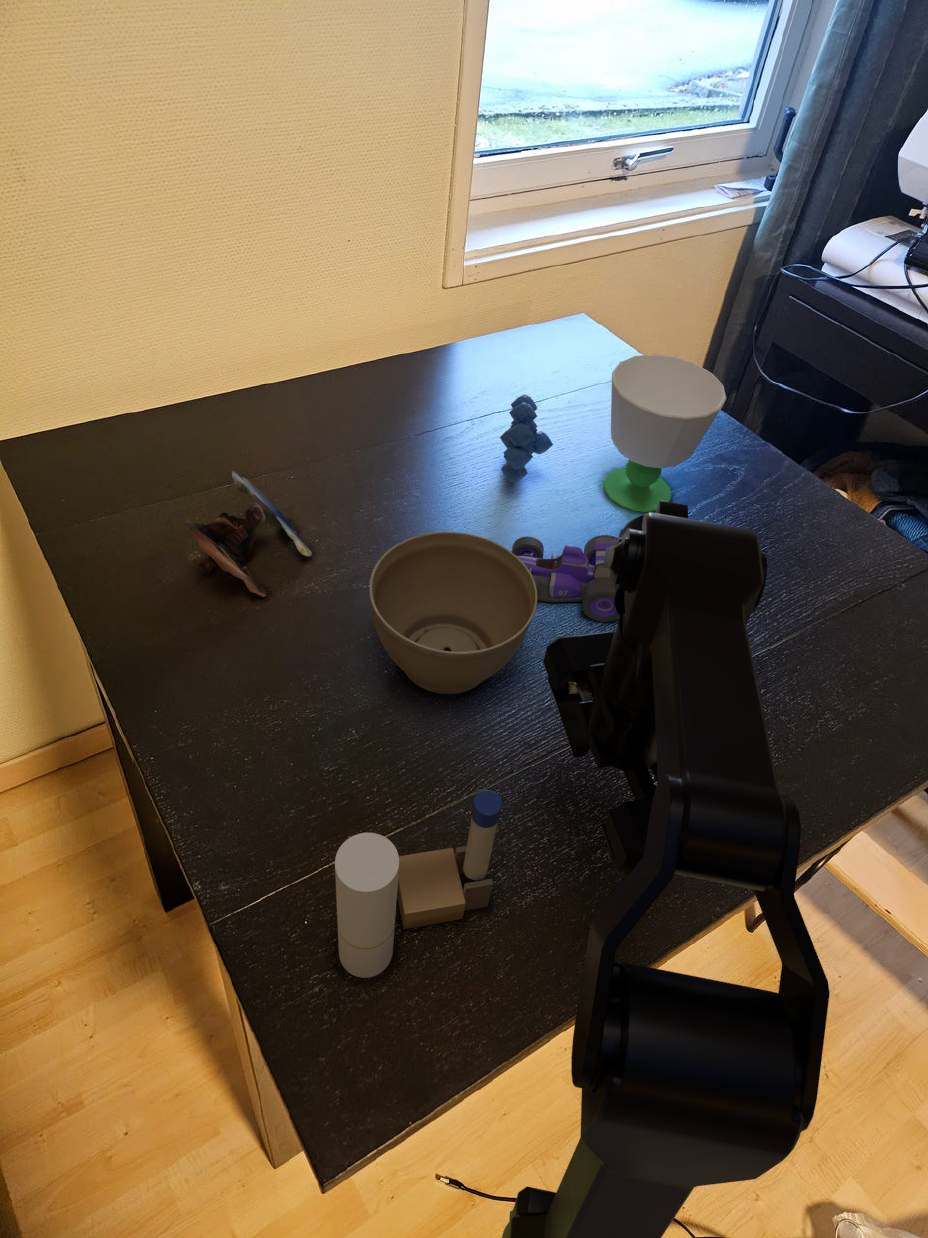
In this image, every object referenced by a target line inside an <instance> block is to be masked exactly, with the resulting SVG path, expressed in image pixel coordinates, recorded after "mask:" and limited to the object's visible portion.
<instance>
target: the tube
mask: <svg viewBox="0 0 928 1238" xmlns="http://www.w3.org/2000/svg"><path fill="white" fill-rule="evenodd" d="M399 856H400V855H399V852H398V850H397V847H396V846H395V845H394V843H393V842H392V841H391V840H390V839H389V838H387V837H386V836H384V835H381V834H379V833H375V832H360V833H357V834H355V835H352V836H350V837H349V838H347V839H346V840H345V841H343V843H342V844H341V845H340V846H339V848H338V850H337V852H336V855H335V859H334V874H335V876H334V877H335V899H336V918H337V919H336V920H337V943H338V957H339V958H338V959H339V961H340V963H341V965H342V967H343V968H344V970H345V971H346V972H347V973H349V974H350V975H352V976H354V977H357V978H361V979H365V978H366V979H368V978H374V977H376V976H378V975H380V974H381V973H383V972H384V971H385V970H386V969H387V968H388V967H389V965H390V963H391V961H392V958H393V955H394V954H393V953H394V941H395V928H396V927H395V926H396V912H397V901H398V898H397V886H398V872H399Z"/></svg>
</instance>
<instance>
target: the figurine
mask: <svg viewBox="0 0 928 1238" xmlns="http://www.w3.org/2000/svg"><path fill="white" fill-rule="evenodd" d="M231 476H232V479H233V482H234V485H235V486H236V487H237V489H238V490H239V491H240V492H241V493H243V494H247V495H248V496H249V498H250V499H252V500H254V496H255V497H257V498H258V499H259V500H260V502H261V503H263V504H264V505H265V506H266V507H267V508H268V509H269V510H270V511H271V512H272V513H273V514H274V515H275V517H276V519H277V521H279V522H278V523H280V525H281V527H282V529H284V532H285V533H286V534H287V536H288V537H289V538H290V539H291V540H293V543H294V544H295V547H296V549H297V550H298V552H299V553H300V554H301V555H303V556H305V557H311V556H312V555H313V553H312V551H311V549H310V548H309V547H308V546H307V544H306V543H305V542H304V540H302V539H301V537H300V536H299V535H298V531H297V529H296V528H295V527H294V526H293V525H292V523H291V522H290V521H289V519H288V518H286V517H285V516H284V515H283V513H282V512H281V511H280V510H279V509H278V508H277V507H276V506H275V505H274V504H273V502H272V501H270V499H269V498H268V497H267V495H265V493H264V492H263V491H262V490H260V489H258V488H256V486H254V485H253V484H252V483H251V482H250V481H249V480H248V479H247V478H246V477H241V476H240V475H239V474H238V473H237V472H235V471H231ZM265 521H266V515H265V514H264V510H263V508H261V506H260V505H259V504H258V503H257V502H253V503H252V504H251V505H250V506H249V508H248V509H247V510H246V511H245V518H241V517H236V516H234V515H229V514H228V513H227V512H222V513H220V514H219V515H218V517H217V518H216V519H215V520H214V519H213V520H211V521H210V522H208V523H206V524H204V523H199V524H198V523H197V522H195V521H191V520H188V519H185V521H184V524H185V525H186V528H187V529H188V530H189V532H190V534H191V535H192V536H193V537H194V538H195V540H196V542H197V543H198V548H199V549H201V550H202V551H203V552H204V553H206V554H207V555H208V559H206V560H205V561H202V562H200V563H199V564H198V567H199V568H200V571H201V572H205V573H206V574H210V573H211V572H212V570H213V568H214V567H215V565H216V564H217V565H218V566H219V568H220V569H221V570H222V571H223V572H226V573H230V574H231V576H233V577H235V578H238V579H240V580H242V581H243V582H244V584H245V586H246V587H247V589H248V590H249V592H250V593H253V594H256V595H258V596H260V597H263V598H265V597H266V596H267V591H266V590H265V588H263V587H262V586H259V585H258V583H256V580H255V578H254V577H253V576H252V575H251V573H250V571H249V569H248V567H247V566H246V559H247V557H248V556H249V554H251V552H252V550H251V549H252V548H253V544H254V541H255V539H256V535H257V533H256V531H257V527H261V526H262V524H263V523H264V522H265Z"/></svg>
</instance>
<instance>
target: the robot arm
mask: <svg viewBox="0 0 928 1238" xmlns="http://www.w3.org/2000/svg"><path fill="white" fill-rule="evenodd" d="M617 538H618V542H617V543H615V544H614V545H612V546H611V547H607V548H606V552H605V558H604V563H603V567H606V568H609V569H610V578H611V580H612V582H613V584H614V586H615V602H614V603H615V607H616V611H617V613H618V614H619V615H620V618H618V621H617V624H616V626H615V627H616V628H615V630H614V631H611V630H610V631H609V630H608V631H600V632H599V631H598V632H590V633H589V632H588V633H579V634H572V635H565V636H563V635H562V636H558V637H557V638H556V639H554V640H553V641H551V642H550V643H549V644H548V645H547V646H546V648H545V652H544V657H543V661H542V663H543V666H544V669H545V671H546V674H547V682H548V684H549V688H550V691H551V694H552V696H553V700H554V702H555V705H556V708H557V711H558V714H559V717H560V720H561V723H562V725H563V729H564V732H565V735H566V738H567V741H568V744H569V747H570V750H571V753H572V756H573V757H574V758H581V757H586V756H587V755H588V753H589V752H590V751H591V753H592V756H593V759H594V761H595V763H596V766H597V768H598V769H602V768H604V769H605V768H609V767H614V768H615V769H617V770H622V771H623V774H624V776H625V778H626V781H627V783H628V786H629V788H630V791H631V793H632V796H633V798H634V800H627V801H624V802H623V803H620V804H619V805H617V806H615V807H614V808H612V809H610V810H608V813H607V815H606V816H605V817H606V818H605V823H602V824H601V828H602V832H603V837H604V839H605V843H606V846H607V850H608V853H609V856H610V859H611V861H612V862H615V863H617V866H618V869H619V871H620V872H621V873H622V874H624V875H626V878H625V879H624V881H623V882H622V883H621V884H620V886H619V887H618V888H617V889H616V890H615V892H614V893H613V894H612V895H611V897H610V898H609V899H608V900H607V902H606V903H605V904H604V906H602V908H601V909H600V910H599V911H598V913H597V914H596V915H595V917H594V918H593V919H592V922H591V924H590V926H589V930H588V937H587V944H586V949H585V956H584V963H583V968H582V974H581V981H580V987H579V994H578V1000H577V1005H576V1006H577V1007H576V1013H575V1019H574V1028H573V1034H572V1044H571V1056H570V1057H571V1061H570V1063H571V1066H570V1067H571V1070H570V1071H571V1073H570V1074H571V1081H572V1082H571V1083H572V1085H573V1086H574V1088H577V1089H581V1100H580V1101H581V1102H580V1103H581V1104H580V1136H579V1139H578V1142H577V1144H576V1146H575V1149H574V1151H573V1153H572V1156H571V1158H570V1159H569V1163H568V1164H567V1166H566V1169H565V1172H564V1173H563V1176H562V1178H561V1180H560V1183H559V1185H558V1188H557V1190H556V1191H551V1190H546V1189H541V1188H537V1187H532V1186H525V1187H523V1188H522V1189H521V1190H519V1191H518V1192H517V1195H516V1199H515V1203H514V1206H513V1208H512V1210H510V1211H509V1217H508V1218H509V1220H508V1223H507V1224H506V1225H505V1227H504V1229H503V1232H502V1235H501V1238H662V1237H663V1236H664V1235H665V1234H666V1231H667V1230H668V1228H669V1227H670V1226H671V1224H672V1222H673V1221H674V1219H675V1217H676V1216H677V1215H678V1213H679V1212H680V1210H681V1209H682V1207H683V1206H684V1204H685V1203H686V1201H687V1199H688V1198H689V1196H690V1194H691V1193H692V1192H693V1190H695V1188H697V1187H703V1186H711V1185H719V1184H720V1185H721V1184H728V1183H735V1182H737V1183H738V1182H744V1181H745V1182H746V1181H753V1180H756V1179H759V1178H760V1177H761V1176H763V1175H764V1174H766V1173H767V1172H769V1171H770V1170H772V1169H774V1168H775V1167H776V1166H777V1165H779V1164H781V1163H783V1161H784V1160H785V1159H787V1158H788V1156H789V1155H790V1154H791V1153H792V1152H793V1151H794V1150H795V1148H796V1146H797V1144H798V1141H799V1139H800V1136H801V1134H802V1132H804V1131H806V1130H807V1129H808V1128H809V1126H810V1124H811V1122H812V1120H813V1118H814V1115H815V1110H816V1105H817V1100H818V1093H819V1084H820V1079H821V1068H822V1061H823V1052H824V1044H825V1037H826V1036H825V1035H826V1027H827V1019H828V1011H829V1004H830V1003H829V1001H830V994H831V993H830V986H829V981H828V978H827V974H826V973H825V970H824V968H823V965H822V963H821V961H820V957H819V956H818V952H817V951H816V948H815V945H814V943H813V940H812V938H811V935H810V933H809V930H808V927H807V925H806V923H805V920H804V918H803V915H802V913H801V909H800V907H799V905H798V903H797V899H796V898H795V888H796V880H797V872H798V865H799V857H800V850H801V836H802V835H801V833H802V827H801V817H800V816H801V815H800V810H799V809H798V806H797V803H796V801H795V800H794V799H793V797H791V796H789V795H785V794H784V795H783V794H782V793H781V790H780V786H779V782H778V777H777V771H776V767H775V763H774V756H773V752H772V747H771V742H770V741H771V740H770V737H769V733H768V732H769V731H768V727H767V722H766V717H765V712H764V707H763V702H762V697H761V692H760V687H759V682H758V678H757V672H756V667H755V663H754V656H753V652H752V646H751V642H750V638H749V632H748V627H747V625H748V623H749V620H750V617H751V614H752V613H754V612H755V611H756V609H757V608H758V607H759V604H760V602H761V600H762V598H763V593H764V590H765V586H766V582H767V577H768V576H767V574H768V558H767V554H766V553H765V552H764V551H761V545H760V540H759V538H758V536H757V533H756V532H755V530H753V529H751V528H750V529H749V528H744V527H738V526H733V525H727V524H721V523H716V522H710V521H704V520H697V519H692V518H689V505H688V504H684V503H683V504H682V503H676V502H671V501H669V502H666V501H659V504H658V507H657V510H656V511H651V512H645V513H644V514H641V515H639V516H638V517H635V518H633V519H632V520H631V521H629V522H628V523H626V525H624V527H623V528H622V529H621V530H620V531H619V533H618V537H617ZM674 875H677V876H681V877H688V878H693V879H698V880H703V881H707V882H714V883H718V884H724V885H730V886H734V887H739V888H745V889H749V890H753V893H754V896H755V898H756V900H757V902H758V906H759V908H760V910H761V913H762V915H763V919H764V921H765V923H766V926H767V928H768V931H769V933H770V936H771V939H772V941H773V944H774V946H775V950H776V952H777V954H778V956H779V959H780V963H781V968H780V969H781V970H780V976H779V985H778V992H777V991H772V990H766V989H762V988H757V987H753V986H747V985H741V984H738V983H737V984H736V983H733V982H732V983H731V982H728V981H727V982H726V981H723V980H715V979H712V978H706V977H702V976H697V975H690V974H686V973H681V972H676V971H671V970H665V969H660V968H655V967H650V966H645V965H640V964H635V963H629V962H625V961H618V960H616V959H615V958H616V952H617V949H618V948H619V947H620V945H621V944H622V943H623V941H624V940H625V939H626V938H627V936H628V935H629V934H630V932H631V931H632V930H633V929H634V928H635V926H636V925H637V924H638V922H639V921H640V920H641V919H642V918H643V916H644V915H645V914H646V912H647V911H648V910H649V909H650V908H651V906H652V905H653V904H654V902H655V901H656V900H657V899H658V898H659V896H660V895H661V894H662V893H663V891H664V890H665V889H666V887H667V886H668V885H669V884H670V883H671V882H672V879H673V877H674Z"/></svg>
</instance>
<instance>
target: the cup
mask: <svg viewBox="0 0 928 1238" xmlns="http://www.w3.org/2000/svg"><path fill="white" fill-rule="evenodd" d="M610 395H611V397H610V399H611V400H610V436H611V437H610V439H611V441H612V443H613V446H614V447H615V448H616V450H617V451H618V452H619V454H620V455H622V456H623V457H625V458H626V459H628V460H627V462H626V464H625V467H623V468H622V467H621V468H617V469H614V470H613V471H611V472H609V473H608V474H606V476H605V478H604V479H603V491H604V492H605V494H606V495H607V497H608V498H609V499H610V500H611V501H612V502H614V503H615V504H616V505H618V506H619V507H622V508H624V509H628V510H630V511H632V512H642V513H647V512H656V510H657V507H658V504H659V501H666V502H671V500H672V497H673V496H672V490H671V489H672V488H671V487H670V486H669V485H668V483H667V482H666V481H665V479H663V478H661V476H662V475H661V474H662V469H666V468H667V469H668V468H674V467H678V466H679V465H681V464H683V463H684V462H686V461H688V460H689V459H690V458H691V457H692V456H693V454H694V453H695V451H696V449H697V448H698V446H699V445H700V443H701V441H702V440H703V439H704V437H705V435H706V433H707V432H708V430H709V429H710V427H711V426H712V424H713V422H714V421H715V419H716V418H717V416H718V415H719V413H720V412H721V410H722V408H723V406H724V404H725V403H726V400H727V395H726V391H725V386H724V384H723V383H722V382H721V381H720V380H719V379H718V378H717V376H715V375H714V374H713V372H711V371H710V370H707V369H705V368H703V367H702V366H701V365H699V364H697V363H695V362H693V361H689V360H686V359H683V358H680V357H677V356H672V355H663V354H656V353H652V354H642V355H641V354H640V355H634V356H631V357H629V358H627V359H625V360H622V361H620V362H619V363H618V364H617V366H615V368H614V369H613V371H611V394H610Z"/></svg>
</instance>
